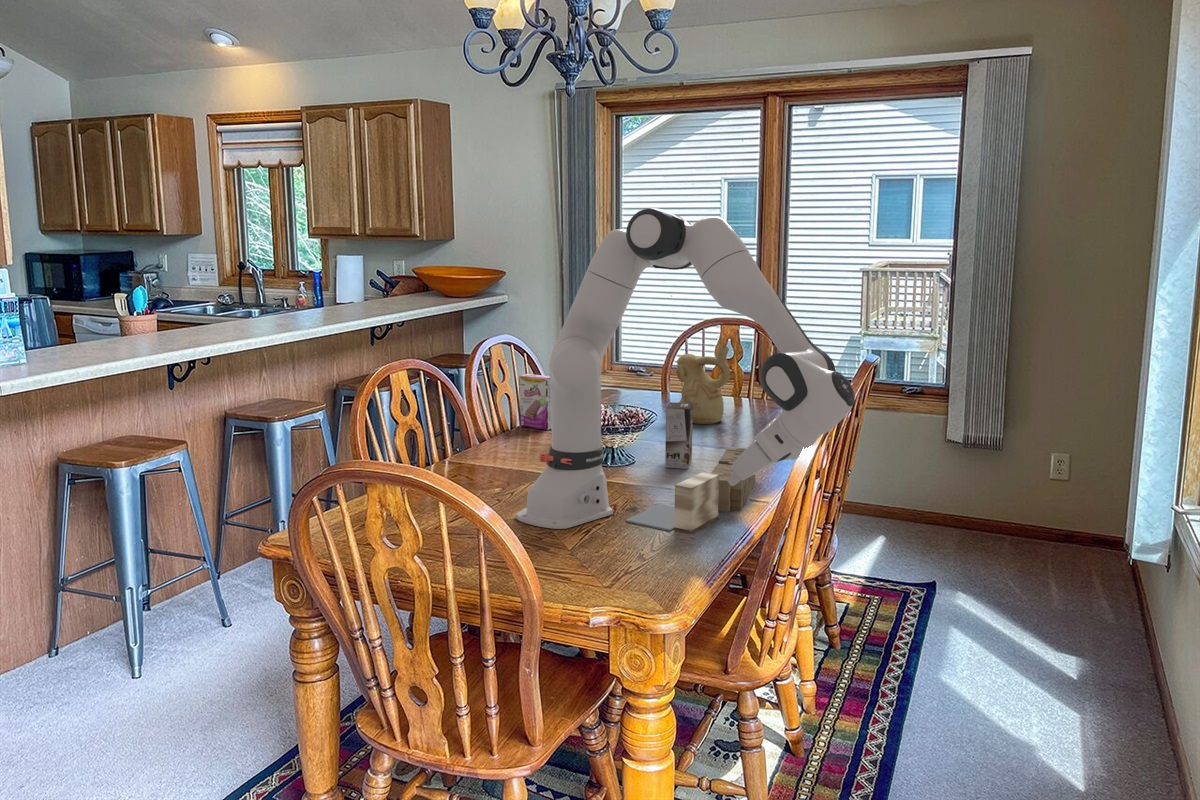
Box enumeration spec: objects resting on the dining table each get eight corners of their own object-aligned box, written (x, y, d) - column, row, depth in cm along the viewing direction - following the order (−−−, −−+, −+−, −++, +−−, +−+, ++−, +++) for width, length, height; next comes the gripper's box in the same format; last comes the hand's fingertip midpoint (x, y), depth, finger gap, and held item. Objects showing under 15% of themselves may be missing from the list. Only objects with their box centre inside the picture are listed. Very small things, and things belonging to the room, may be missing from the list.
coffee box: (689, 469, 241) (689, 408, 238) (664, 468, 242) (665, 407, 239) (692, 460, 250) (693, 402, 247) (668, 459, 251) (669, 401, 248)
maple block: (691, 534, 192) (691, 488, 190) (674, 530, 194) (674, 484, 192) (718, 519, 201) (719, 474, 199) (701, 515, 203) (702, 472, 202)
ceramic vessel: (688, 412, 312) (689, 339, 307) (740, 419, 300) (742, 343, 295) (661, 421, 298) (662, 344, 293) (715, 429, 287) (716, 349, 282)
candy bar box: (518, 426, 291) (517, 375, 288) (528, 423, 296) (527, 373, 292) (547, 431, 286) (547, 378, 282) (557, 428, 290) (556, 376, 287)
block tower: (740, 517, 206) (757, 478, 233) (741, 481, 204) (758, 446, 231) (705, 514, 208) (726, 476, 235) (705, 478, 206) (727, 444, 233)
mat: (669, 531, 193) (669, 529, 193) (625, 521, 199) (625, 520, 199) (702, 513, 205) (702, 512, 204) (659, 505, 211) (659, 503, 211)
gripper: (798, 415, 191) (753, 454, 199) (755, 434, 175) (708, 476, 182) (817, 439, 190) (772, 477, 197) (776, 460, 173) (728, 501, 181)
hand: (741, 477), depth 189 cm, fingers open, 8 cm apart
